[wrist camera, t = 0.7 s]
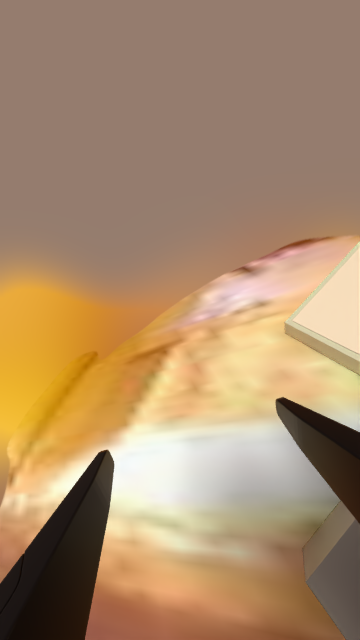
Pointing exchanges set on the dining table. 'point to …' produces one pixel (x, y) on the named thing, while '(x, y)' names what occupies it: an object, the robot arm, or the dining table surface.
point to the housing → (336, 569)
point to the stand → (333, 314)
